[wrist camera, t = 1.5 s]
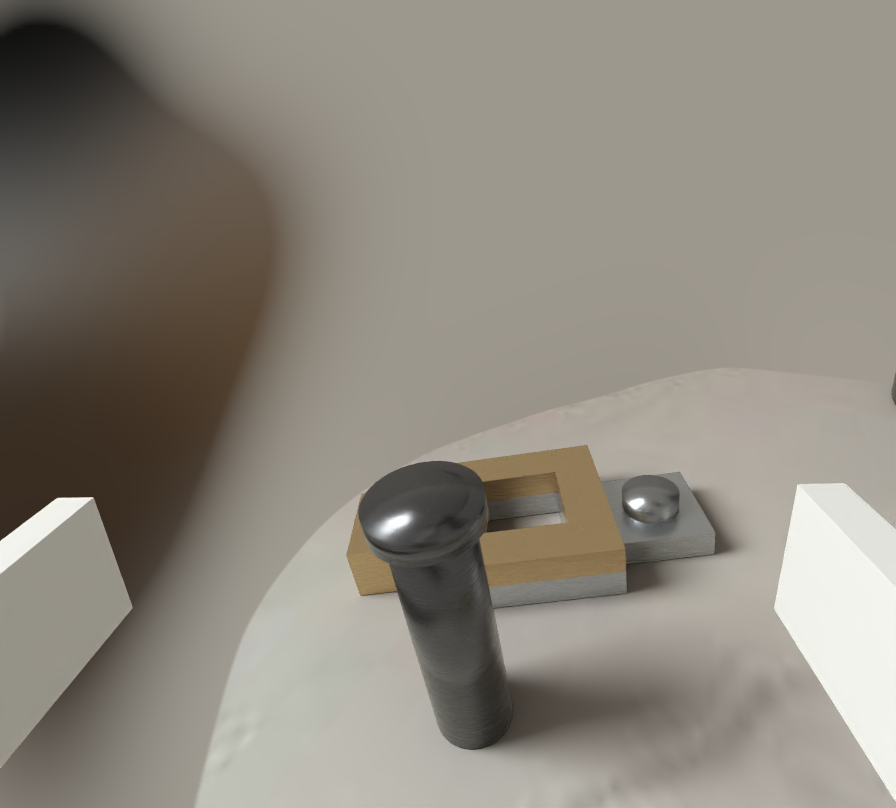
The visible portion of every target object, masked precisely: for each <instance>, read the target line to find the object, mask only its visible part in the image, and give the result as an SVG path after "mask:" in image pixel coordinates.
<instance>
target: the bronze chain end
mask: <svg viewBox="0 0 896 808" xmlns="http://www.w3.org/2000/svg"><path fill="white" fill-rule="evenodd" d="M457 464H461V465H463V466H466V467H468V468H470V469H471V470H473V471H474V472H475V473H476V474H477V475H478V476H479V477H480V478H481V480H482V482H483V484H484V489H485V494H486V500H487V501H494V500H502V499H510V498H517V497H525V496H533V495H540V494H548V493H556V492H557V493H558V497H559V501H560V505H561V509H562V513H563V517H564V521H565V523H561V524H553V525H545V526H537V527H529V528H521V529H513V530H505V531H497V532H489V533H485V531H484V533H483V535H482V536H481V537H480V544H481V549H482V554H483V559H484V564H485V570H486V575H487V580H488V585H489V587H496V586H505V585H514V584H522V583H531V582H540V581H548V580H557V579H566V578H574V577H583V576H592V575H600V574H609V573H618V572H626V556H625V547H624V544H623V541H622V539H621V536H620V533H619V530H618V528H617V525H616V522H615V520H614V517H613V514H612V511H611V509H610V506H609V503H608V500H607V498H606V495H605V492H604V489H603V487H602V484H601V481H600V479H599V476H598V473H597V470H596V468H595V465H594V462H593V459H592V457H591V454H590V451H589V449H588V446H587V445H584V446H577V447H570V448H563V449H555V450H548V451H541V452H534V453H526V454H519V455H512V456H505V457H497V458H490V459H483V460H476V461H468V462H461V463H457ZM364 495H365V494H361V498H360V502H361V500H362V498H363V496H364ZM360 502H359V505H360ZM358 510H359V506H358ZM358 510H357V514H356V519H355V523H354V527H353V531H352V535H351V539H350V543H349V547H348V551H347V555H346V556H347V559H348V562H349V564H350V567H351V570H352V573H353V576H354V579H355V582H356V584H357V587H358V590H359V593H360V595H369V594H377V593H386V592H395V591H397V589H396V586H395V583H394V579H393V576H392V573H391V570H390V566H389V563H386V562H384V561H382V560H380V559H379V558H377V557H376V556H375V555H374V554H373V553H372V552H371V551H370V549H369V547H368V545H367V542H366V539H365V536H364V533H363V530H362V527H361V524H360V520H359V516H358Z"/></svg>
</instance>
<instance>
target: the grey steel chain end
mask: <svg viewBox="0 0 896 808" xmlns="http://www.w3.org/2000/svg"><path fill="white" fill-rule="evenodd" d="M601 484H602V487H603V489H604V492H605V495H606V498H607V500H608V503H609V506H610V509H611V511H612V514H613V517H614V520H615V522H616V525H617V528H618V530H619V533H620V536H621V539H622V541H623V544H624V547H625V556H626V564H635V563H643V562H652V561H660V560H669V559H678V558H686V557H695V556H703V555H712V554H714V549H715V531H714V529H713V527H712V526H711V524H710V522H709V521H708V519H707V517H706V516H705V514H704V512H703V510H702V509H701V507H700V505H699V504H698V502H697V500H696V498H695V497H694V495H693V493H692V492H691V490H690V488H689V487H688V485H687V483H686V481H685V480H684V478H683V476H682V475H681V473H680V472H675V473H667V474H660V475H642V476H637V477H634V478H629V479H621V480H614V481H606V482H601ZM487 505H488V511H489V520H488V521H490V520H498V519H505V518H513V517H521V516H529V515H537V514H545V513H553V512H560V516H561V520H562V523H565V521H564V517H563V513H562V509H561V505H560V501H559V497H558V493H557V492H556V493H548V494H540V495H533V496H525V497H517V498H510V499H502V500H494V501H487ZM485 533H488V532H487V527H486V529H485ZM489 590H490V595H491V600H492V605H493V608H499V607H508V606H517V605H526V604H535V603H543V602H552V601H561V600H570V599H579V598H588V597H597V596H606V595H615V594H624V593H627V581H626V572H618V573H609V574H600V575H592V576H583V577H574V578H566V579H557V580H548V581H540V582H531V583H522V584H514V585H505V586H496V587H489Z"/></svg>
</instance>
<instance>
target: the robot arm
mask: <svg viewBox="0 0 896 808" xmlns="http://www.w3.org/2000/svg"><path fill="white" fill-rule="evenodd" d="M892 398H893V400H894V402H895V404H896V374H895V379H894V383H893V388H892ZM131 609H132V605H131V602H130V599H129V596H128V594H127V591H126V588H125V585H124V582H123V580H122V577H121V574H120V571H119V568H118V565H117V563H116V560H115V557H114V554H113V551H112V548H111V546H110V543H109V540H108V537H107V535H106V532H105V529H104V526H103V523H102V520H101V518H100V515H99V512H98V509H97V506H96V504H95V501H94V498H57V499H56V500H54V501H53V502H52V503H50V504H49V505H48V506H46V507H45V508H44V509H42V510H41V511H40V512H38V513H37V514H36V515H34V516H33V517H32V518H30V519H29V520H28V521H26V522H25V523H24V524H22V525H21V526H20V527H19V528H17V529H16V530H14V531H13V532H12V533H10V534H9V535H8V536H7V537H5V538H4V539H3V540H1V541H0V768H1V767H2V766H3V764H4V763H5V762H6V761H7V759H8V758H9V757H10V756H11V755H12V754H13V752H14V751H15V750H16V749H17V747H18V746H19V745H20V744H21V743H22V741H23V740H24V739H25V738H26V736H27V735H28V734H29V733H30V732H31V730H32V729H33V728H34V727H35V726H36V724H37V723H38V722H39V721H40V720H41V718H42V717H43V716H44V715H45V713H46V712H47V711H48V710H49V709H50V707H51V706H52V705H53V704H54V702H55V701H56V700H57V699H58V698H59V696H60V695H61V694H62V693H63V692H64V690H65V689H66V688H67V687H68V686H69V684H70V683H71V682H72V681H73V679H74V678H75V677H76V676H77V675H78V673H79V672H80V671H81V670H82V669H83V667H84V666H85V665H86V664H87V662H88V661H89V660H90V659H91V658H92V656H93V655H94V654H95V653H96V651H97V650H98V649H99V648H100V647H101V645H102V644H103V643H104V642H105V641H106V639H107V638H108V637H109V636H110V635H111V633H112V632H113V631H114V630H115V628H116V627H117V626H118V625H119V623H120V622H121V621H122V620H123V618H124V617H125V616H126V615H127V614H128V612H129V611H130V610H131ZM774 609H775V611H776V613H777V614H778V616H779V617H780V619H781V621H782V622H783V624H784V625H785V627H786V628H787V630H788V632H789V633H790V635H791V636H792V638H793V640H794V641H795V643H796V644H797V646H798V647H799V649H800V651H801V652H802V654H803V655H804V657H805V659H806V660H807V662H808V663H809V665H810V667H811V668H812V670H813V671H814V673H815V674H816V676H817V678H818V679H819V681H820V682H821V684H822V686H823V687H824V689H825V690H826V692H827V694H828V695H829V697H830V698H831V700H832V701H833V703H834V705H835V706H836V708H837V709H838V711H839V713H840V714H841V716H842V717H843V719H844V720H845V722H846V724H847V725H848V727H849V728H850V730H851V732H852V733H853V735H854V736H855V738H856V740H857V741H858V743H859V744H860V746H861V747H862V749H863V751H864V752H865V754H866V755H867V757H868V759H869V760H870V762H871V763H872V765H873V767H874V768H875V770H876V771H877V773H878V774H879V776H880V778H881V779H882V781H883V782H884V784H885V786H886V787H887V789H888V790H889V792H890V794H891V795H892V797H893V798H894V800H895V801H896V529H894V528H893V527H892V526H891V525H890V524H889V523H888V522H887V521H886V520H884V519H883V518H882V517H881V516H880V515H879V514H878V513H877V512H876V511H875V510H873V509H872V508H871V507H870V506H869V505H868V504H867V503H866V502H865V501H864V500H862V499H861V498H860V497H859V496H858V495H857V494H856V493H855V492H854V491H853V490H851V489H850V488H849V487H848V486H847V485H846V484H845V483H833V484H798V486H797V491H796V496H795V501H794V507H793V512H792V517H791V522H790V528H789V533H788V538H787V543H786V549H785V554H784V559H783V564H782V570H781V575H780V580H779V585H778V591H777V596H776V601H775V606H774Z"/></svg>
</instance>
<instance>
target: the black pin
mask: <svg viewBox="0 0 896 808" xmlns="http://www.w3.org/2000/svg"><path fill="white" fill-rule="evenodd" d="M358 516H359V520H360V524H361V527H362V530H363V533H364V536H365V539H366V542H367V545H368V547H369V549H370V551H371V552H372V553H373V554H374V555H375V556H376V557H377V558H379V559H380V560H382V561H384V562H386V563H389V566H390V570H391V573H392V576H393V579H394V583H395V586H396V589H397V592H398V596H399V599H400V602H401V606H402V609H403V612H404V615H405V619H406V622H407V625H408V628H409V632H410V635H411V638H412V642H413V645H414V648H415V651H416V655H417V658H418V661H419V664H420V668H421V671H422V674H423V678H424V681H425V684H426V687H427V691H428V694H429V697H430V701H431V704H432V707H433V710H434V714H435V717H436V720H437V723H438V727H439V729H440V731H441V733H442V734H443V736H444V737H445V738H446V739H447V740H448V741H449V742H450V743H452V744H454V745H455V746H458V747H460V748H464V749H480V748H483V747H486V746H489V745H491V744H493V743H494V742H496V741H497V740H498V739H499V738H500V737H501V736H502V735H503V734H504V733H505V732H506V730H507V728H508V727H509V724H510V722H511V718H512V712H513V709H512V701H511V696H510V691H509V686H508V681H507V676H506V671H505V666H504V660H503V655H502V650H501V645H500V640H499V635H498V630H497V625H496V620H495V615H494V610H493V605H492V600H491V595H490V590H489V585H488V580H487V575H486V570H485V564H484V559H483V554H482V549H481V544H480V537H481V536H482V535H483V533H484V531H485V529H486V527H487V525H488V520H489V511H488V505H487V500H486V494H485V489H484V484H483V482H482V480H481V478H480V477H479V476H478V475H477V474H476V473H475V472H474V471H473V470H471V469H470V468H468V467H466V466H463V465H461V464H457V463H453V462H446V461H430V462H422V463H417V464H413V465H409V466H406V467H403V468H400V469H398V470H395V471H393V472H391V473H389V474H388V475H386V476H384V477H383V478H381V479H380V480H379V481H377V482H376V483H375V484H374V485H373V486H371V488H370V489H369V490H368V491H367V492H366V493H365V495H364V496H363V498H362V500H361V502H360V505H359V510H358Z"/></svg>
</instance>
